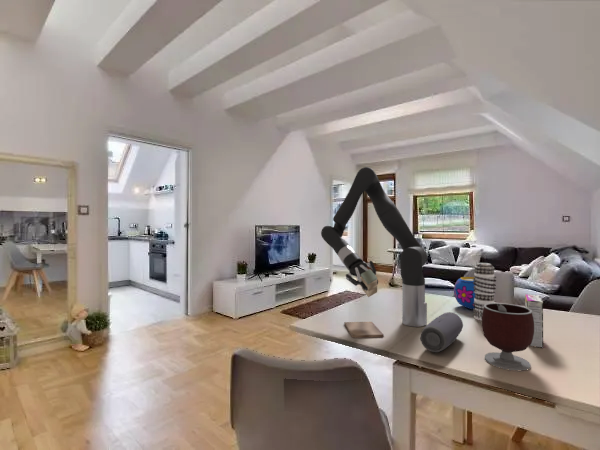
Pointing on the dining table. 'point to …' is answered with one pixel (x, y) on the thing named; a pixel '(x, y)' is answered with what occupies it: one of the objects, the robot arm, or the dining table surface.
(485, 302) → the decorative candle
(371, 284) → the beech block
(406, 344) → the dining table surface
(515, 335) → the mate gourd
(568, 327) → the dining table surface
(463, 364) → the dining table surface
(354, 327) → the walnut board
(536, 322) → the candy bar box
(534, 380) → the dining table surface
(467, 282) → the ceramic pot
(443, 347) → the bluetooth speaker
